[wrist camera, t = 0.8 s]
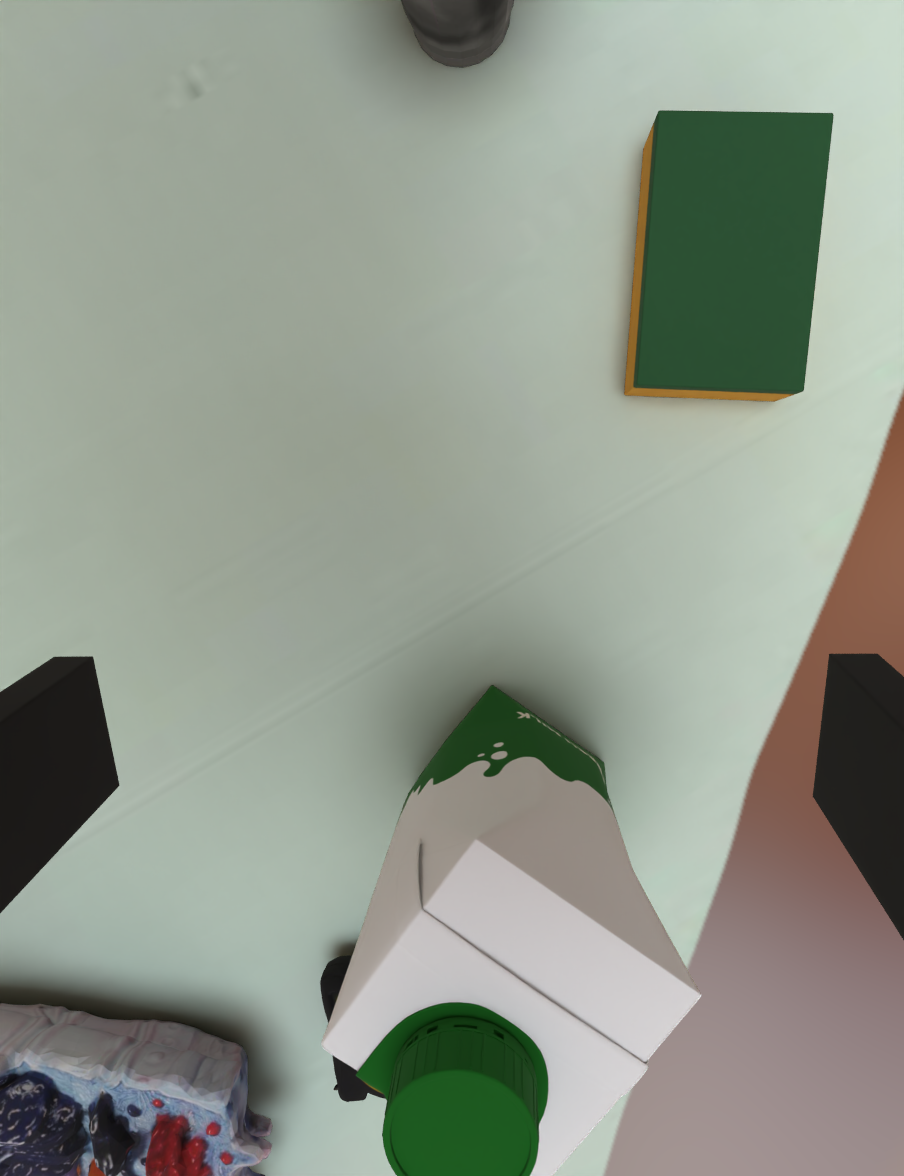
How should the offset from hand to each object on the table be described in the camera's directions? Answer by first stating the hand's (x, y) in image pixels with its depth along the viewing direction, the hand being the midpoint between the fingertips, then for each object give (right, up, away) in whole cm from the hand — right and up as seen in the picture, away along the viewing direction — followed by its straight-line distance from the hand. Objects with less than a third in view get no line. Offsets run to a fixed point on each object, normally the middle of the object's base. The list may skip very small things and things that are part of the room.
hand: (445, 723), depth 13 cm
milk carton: (+3, -7, +25) cm, 26 cm away
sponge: (+12, +17, +21) cm, 30 cm away
